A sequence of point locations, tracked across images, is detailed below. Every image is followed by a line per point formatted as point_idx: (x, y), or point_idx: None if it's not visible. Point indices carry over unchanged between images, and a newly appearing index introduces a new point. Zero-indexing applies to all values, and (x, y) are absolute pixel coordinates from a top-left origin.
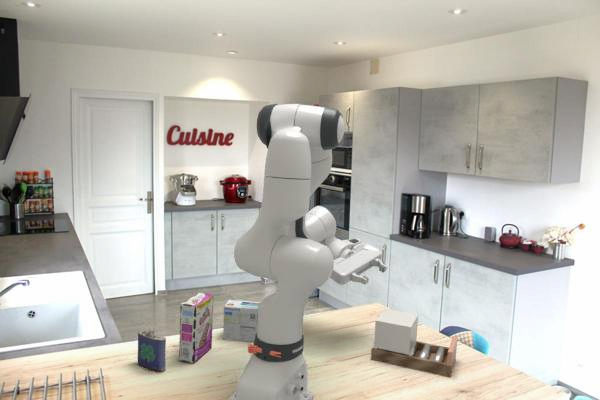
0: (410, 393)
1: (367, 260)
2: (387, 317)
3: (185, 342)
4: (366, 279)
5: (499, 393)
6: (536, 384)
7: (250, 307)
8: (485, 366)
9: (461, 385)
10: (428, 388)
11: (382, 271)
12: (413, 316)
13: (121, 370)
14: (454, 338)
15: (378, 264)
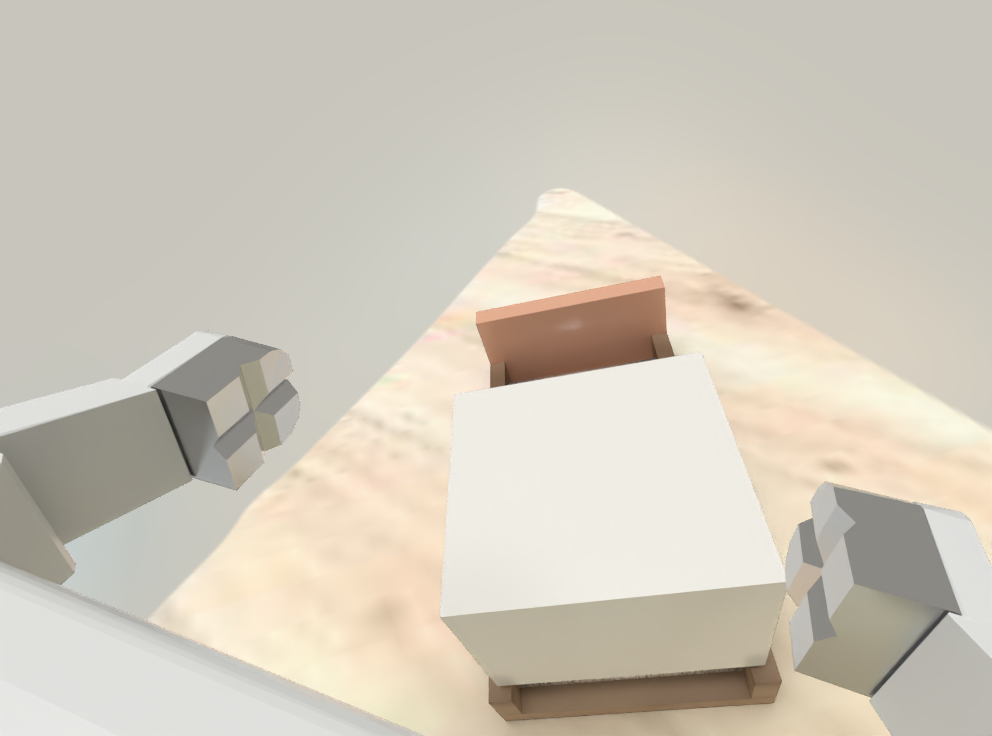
0: (938, 408)
1: (46, 642)
2: (637, 524)
3: None
4: (913, 504)
5: (666, 248)
6: (546, 220)
7: None
8: None
9: (698, 317)
10: (823, 376)
11: (281, 428)
12: (502, 402)
13: None
14: (503, 313)
15: (52, 496)
